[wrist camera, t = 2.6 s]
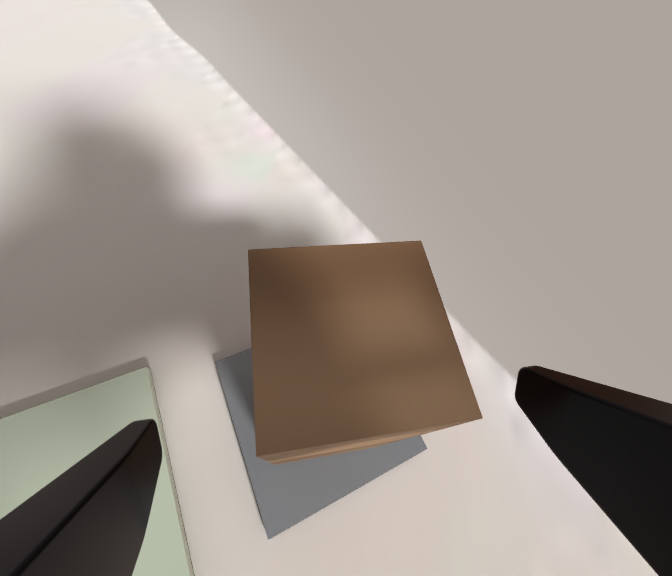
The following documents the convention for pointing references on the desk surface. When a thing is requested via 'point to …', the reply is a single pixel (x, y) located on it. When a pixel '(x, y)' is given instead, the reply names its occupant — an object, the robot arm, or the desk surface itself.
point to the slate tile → (305, 475)
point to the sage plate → (81, 439)
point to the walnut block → (350, 350)
